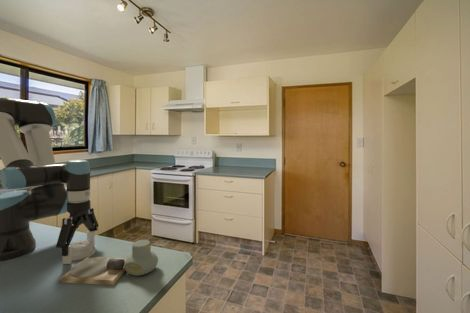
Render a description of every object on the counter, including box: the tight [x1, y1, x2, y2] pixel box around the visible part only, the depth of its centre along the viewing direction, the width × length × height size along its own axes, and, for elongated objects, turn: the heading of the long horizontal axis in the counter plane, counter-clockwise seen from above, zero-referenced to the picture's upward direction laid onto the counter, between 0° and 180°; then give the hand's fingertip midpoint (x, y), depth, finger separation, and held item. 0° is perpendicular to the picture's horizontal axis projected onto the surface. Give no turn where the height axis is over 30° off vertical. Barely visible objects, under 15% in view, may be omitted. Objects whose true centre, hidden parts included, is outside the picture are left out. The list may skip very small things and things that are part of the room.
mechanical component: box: [69, 239, 96, 261], centre depth 90 cm, size 10×4×10 cm
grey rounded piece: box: [124, 239, 159, 277], centre depth 80 cm, size 11×8×10 cm
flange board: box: [59, 256, 127, 286], centre depth 78 cm, size 17×13×5 cm
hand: (79, 254), depth 89 cm, fingers open, 12 cm apart
